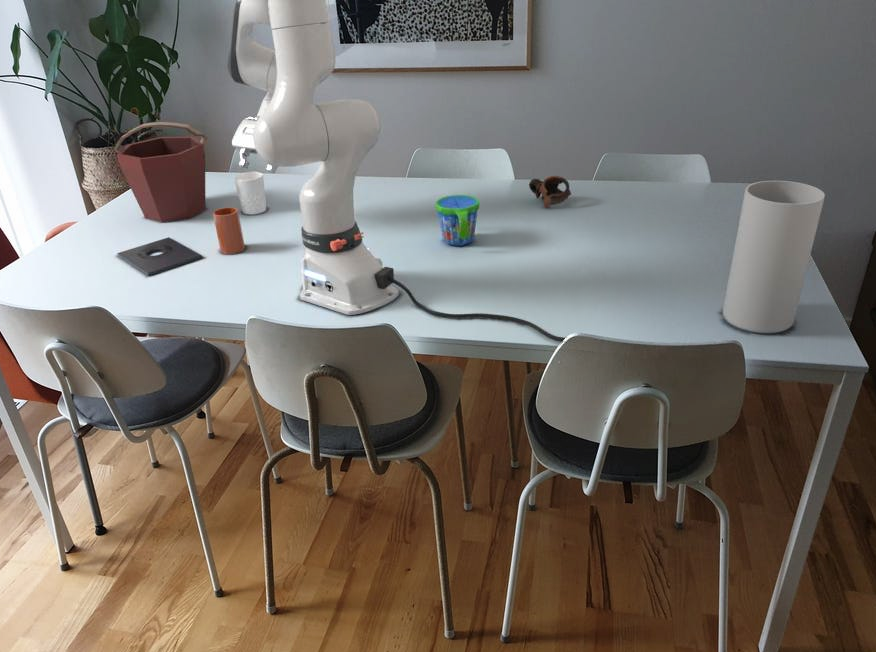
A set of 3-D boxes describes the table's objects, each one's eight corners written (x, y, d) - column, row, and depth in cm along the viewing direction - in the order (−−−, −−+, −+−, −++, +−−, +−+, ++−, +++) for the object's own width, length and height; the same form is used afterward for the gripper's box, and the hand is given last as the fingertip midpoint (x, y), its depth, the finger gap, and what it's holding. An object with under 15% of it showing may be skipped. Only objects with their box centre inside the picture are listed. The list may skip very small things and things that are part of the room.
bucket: (230, 199, 218) (213, 113, 205) (199, 227, 199) (178, 133, 186) (154, 199, 222) (133, 114, 209) (116, 225, 204) (91, 134, 191)
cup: (249, 249, 184) (242, 210, 179) (228, 256, 181) (220, 217, 175) (237, 243, 188) (230, 205, 183) (216, 250, 184) (208, 212, 179)
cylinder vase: (714, 304, 146) (736, 181, 133) (780, 304, 145) (809, 180, 132) (732, 335, 136) (757, 204, 123) (803, 335, 134) (836, 203, 121)
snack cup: (435, 230, 188) (433, 192, 183) (476, 228, 188) (475, 189, 183) (438, 255, 174) (437, 214, 169) (483, 252, 175) (482, 211, 169)
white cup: (262, 215, 204) (256, 180, 199) (236, 215, 206) (229, 180, 201) (272, 206, 211) (267, 171, 206) (247, 205, 212) (241, 171, 207)
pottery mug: (572, 199, 204) (577, 178, 197) (560, 223, 200) (564, 203, 193) (532, 184, 207) (536, 163, 200) (519, 208, 203) (522, 188, 196)
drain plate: (202, 258, 180) (201, 255, 180) (148, 276, 173) (147, 273, 172) (169, 239, 192) (168, 237, 192) (117, 256, 185) (116, 253, 184)
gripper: (237, 109, 188) (218, 159, 187) (298, 116, 178) (279, 168, 177) (252, 122, 193) (234, 170, 192) (312, 129, 183) (294, 180, 182)
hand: (256, 169), depth 184 cm, fingers open, 8 cm apart
